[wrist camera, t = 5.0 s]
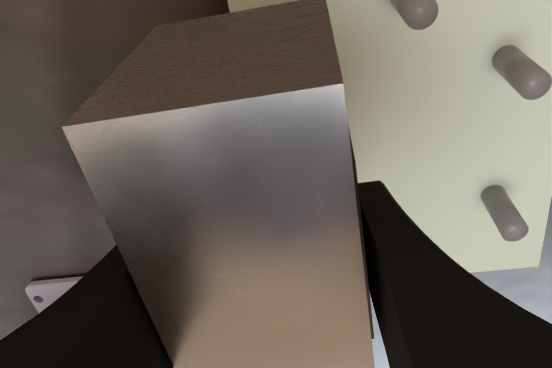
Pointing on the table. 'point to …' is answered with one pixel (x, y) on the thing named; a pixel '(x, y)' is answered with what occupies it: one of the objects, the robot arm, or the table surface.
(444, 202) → the peg board
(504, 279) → the table surface
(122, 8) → the table surface
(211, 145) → the block
